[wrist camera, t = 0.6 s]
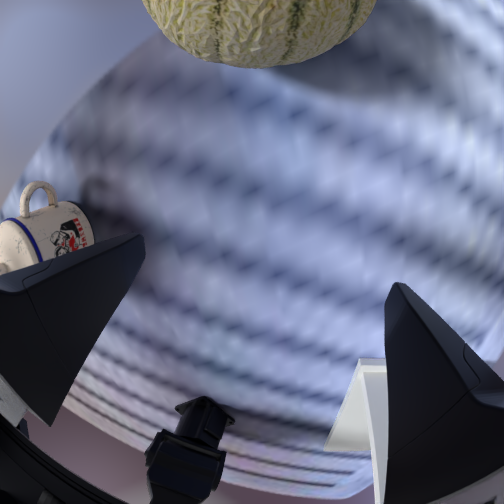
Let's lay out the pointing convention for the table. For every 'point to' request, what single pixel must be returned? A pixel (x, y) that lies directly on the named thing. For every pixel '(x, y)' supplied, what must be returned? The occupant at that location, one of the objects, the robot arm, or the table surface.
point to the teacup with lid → (42, 231)
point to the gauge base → (365, 419)
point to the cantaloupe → (258, 28)
